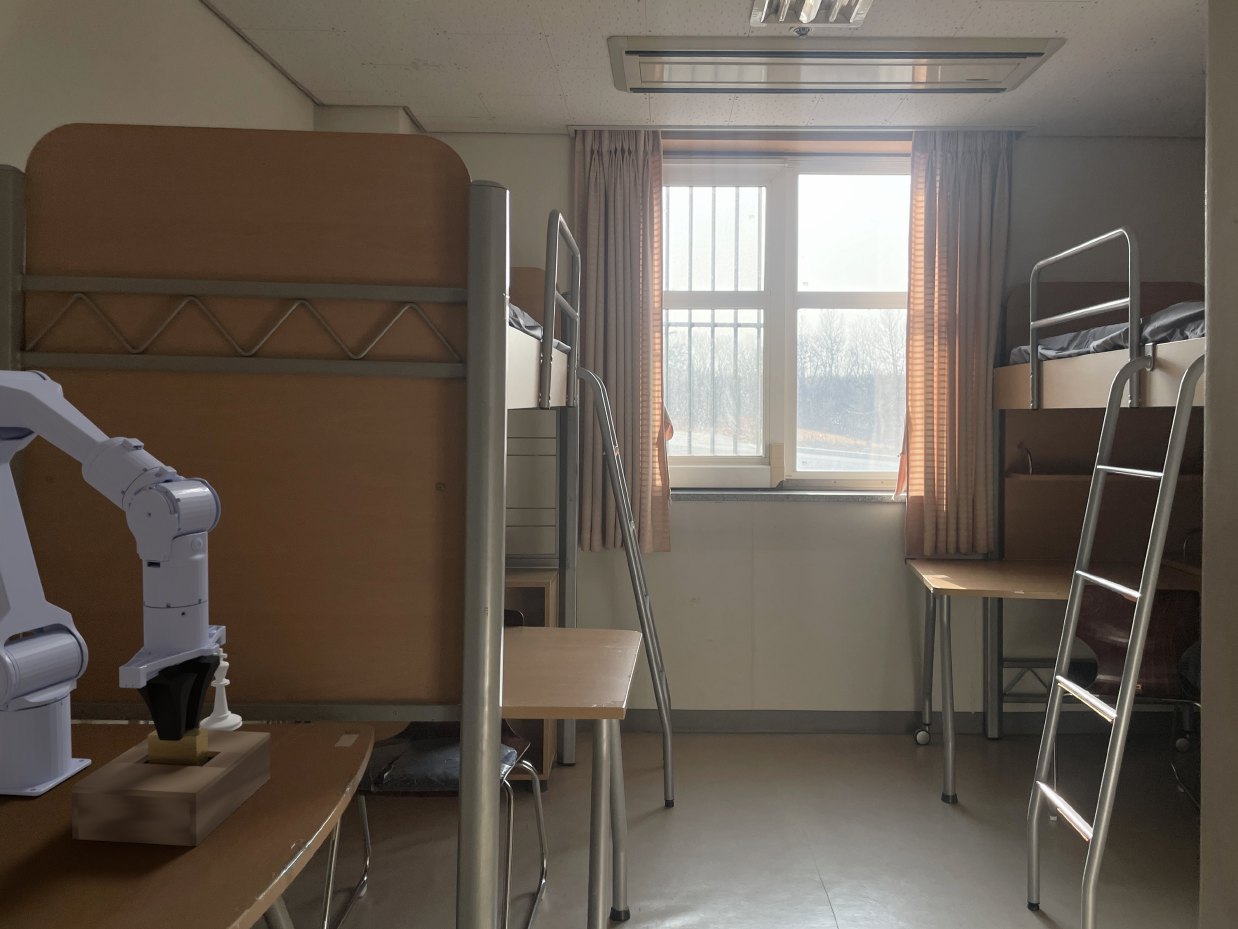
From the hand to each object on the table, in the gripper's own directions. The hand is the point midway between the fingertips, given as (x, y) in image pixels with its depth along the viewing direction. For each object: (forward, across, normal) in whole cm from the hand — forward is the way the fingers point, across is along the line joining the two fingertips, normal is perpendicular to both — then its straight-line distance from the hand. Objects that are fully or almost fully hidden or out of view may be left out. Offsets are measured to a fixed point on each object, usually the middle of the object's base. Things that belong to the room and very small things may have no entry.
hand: (178, 734), depth 82 cm
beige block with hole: (+8, 0, 0) cm, 8 cm away
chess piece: (+8, +20, +7) cm, 23 cm away
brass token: (+5, 0, 0) cm, 5 cm away
